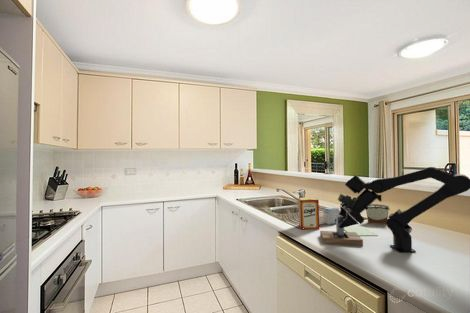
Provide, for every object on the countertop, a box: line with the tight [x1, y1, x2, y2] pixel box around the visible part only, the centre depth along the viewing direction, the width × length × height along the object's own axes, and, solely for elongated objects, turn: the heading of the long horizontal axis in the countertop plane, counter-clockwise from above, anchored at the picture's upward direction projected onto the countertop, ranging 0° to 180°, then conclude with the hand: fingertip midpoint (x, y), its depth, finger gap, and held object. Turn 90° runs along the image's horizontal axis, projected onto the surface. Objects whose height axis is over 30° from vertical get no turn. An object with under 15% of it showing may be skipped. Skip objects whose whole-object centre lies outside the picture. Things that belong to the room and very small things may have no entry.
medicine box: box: [322, 206, 340, 225], centre depth 133 cm, size 8×4×9 cm, turn 111°
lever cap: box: [335, 215, 345, 238], centre depth 105 cm, size 5×4×12 cm
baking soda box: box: [297, 197, 320, 230], centre depth 126 cm, size 10×6×16 cm
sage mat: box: [344, 225, 379, 237], centre depth 118 cm, size 14×12×1 cm
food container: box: [365, 203, 391, 225], centre depth 132 cm, size 12×6×10 cm, turn 74°
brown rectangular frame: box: [319, 230, 364, 247], centre depth 105 cm, size 10×16×2 cm, turn 77°
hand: (337, 224), depth 106 cm, fingers open, 9 cm apart
